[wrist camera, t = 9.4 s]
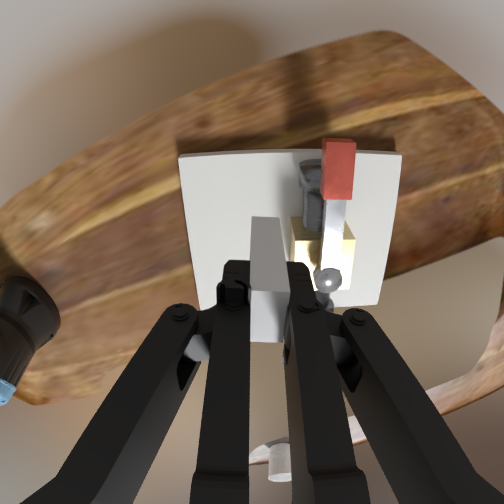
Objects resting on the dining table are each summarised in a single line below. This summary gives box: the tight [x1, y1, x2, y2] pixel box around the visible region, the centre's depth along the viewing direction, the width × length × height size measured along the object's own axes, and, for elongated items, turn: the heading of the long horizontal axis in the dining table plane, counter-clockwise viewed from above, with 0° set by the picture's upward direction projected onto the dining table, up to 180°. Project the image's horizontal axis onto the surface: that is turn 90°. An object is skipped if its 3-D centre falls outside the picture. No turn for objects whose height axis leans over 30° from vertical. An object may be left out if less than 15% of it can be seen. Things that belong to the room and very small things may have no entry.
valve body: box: [289, 159, 356, 313], centre depth 40 cm, size 7×22×8 cm, turn 2°
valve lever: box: [312, 138, 356, 293], centre depth 32 cm, size 17×3×2 cm, turn 2°
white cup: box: [268, 443, 292, 482], centre depth 75 cm, size 8×8×10 cm
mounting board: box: [178, 149, 402, 310], centre depth 44 cm, size 28×24×2 cm
